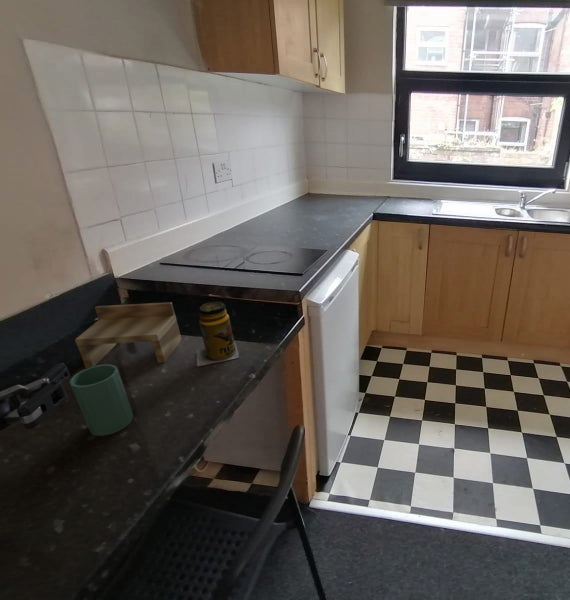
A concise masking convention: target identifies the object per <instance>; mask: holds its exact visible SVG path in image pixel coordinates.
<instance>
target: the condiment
mask: <svg viewBox="0 0 570 600" xmlns="http://www.w3.org/2000/svg"><path fill="white" fill-rule="evenodd" d="M198 313H199V315H198V316H199V320H198V324H199V328H200V332H201V336H202V340H203V345H204V348H199V349H196V350H195V351H196V352H195V354H196V367H197V368H198V367H202V366H206V365H211V364H212V365H213V364H217V363H223V362H227V361H231V360H236V359H238V358H240V355H239V351H238V346H237V343H236V342H235V339H234V334H233V329H232V324H231V319H230V315H229V314H228V313H227V309H226V304H225V303H224V302H221V301H210V302H206V303H203V304H202V305H200V306H199V308H198Z"/></svg>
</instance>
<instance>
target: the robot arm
mask: <svg viewBox="0 0 570 600" xmlns="http://www.w3.org/2000/svg"><path fill="white" fill-rule="evenodd" d="M70 379H71V374H70V371H69V368H68V367H67V365H66V364H65V363H64V362H61V363H56V364H55V365H53V366H52V367H51V368H49V370H47V371H46V372H45V373H44V374H43V375H41V376H40V377H39V379H37V380H34V381H33V382H30V383H28V384H25V385H21V384H16V385H13V386H11V387H8V388H6V389H3V390H1V391H0V432H1V431H3V430H5V429H6V428H8V427H10V426H11V425H12V424H22V425H23V427H24V428H25V430H32V429H33V428H36V427H38V426H39V425H40V424H41V423H42V422H43V421H44V420H45V419H46V418H47V417H49V416H50V415H51V414H52V413H53V412H55V410H56V409H57V408H58V407H60V406H61V405H62V404H63V403H64V402H65V401H66V400H67V399H68V398H69V396H68V393H67V391H66V389H65V387H64V384H65V383H66V382H67V381H68V380H70ZM36 390H38V391H37V392H36V393H35V394H34V395H33V396H32V397H30V395H29V394H30V393H31V392H35V391H36ZM14 396H16V398H17V400H18V402H19V406H18V407H17V408H16V409H14V405H13V403H12V401H11V399H10V398H12V397H14Z"/></svg>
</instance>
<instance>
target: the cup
mask: <svg viewBox="0 0 570 600" xmlns="http://www.w3.org/2000/svg"><path fill="white" fill-rule="evenodd" d="M69 386H70V388H71V391H72V393H73V396H74V398H75V401H76V402H77V405H78V407H79V410H80V412H81V415H82V417H83V419H84V422H85V424H86V426H87V429H88V431H89V433H90V434H91V435H93V436H96V437H105V436H109V435H113V434H115V433H118V432H120V431H122V430H124V429H125V428H127V427H128V426H129V425H130V424H131V422H132V421H133V419H134V412H133V409H132V406H131V402H130V399H129V398H128V395H127V391H126V389H125V386H124V382H123V380H122V377H121V374H120V371H119V368H118V367H117V366H116V365H114V364H110V363H107V364H98V365H95V366H93V367H90V368H85V369H82V370H81V371H79V372H77V373H76V374H75V375H73V376H72V377H70V379H69Z"/></svg>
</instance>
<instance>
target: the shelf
mask: <svg viewBox="0 0 570 600" xmlns="http://www.w3.org/2000/svg"><path fill="white" fill-rule="evenodd" d="M94 309H95V312H96V313H95V314H96V315H97V318H98V319H97V321H95V322H94V323H93V324H92V325H90V326H89V327H88V328H87V329H86V330H84V331H83V332H82V333H81V334H80V335H78V336H77V337H76V338H75V339H74V341H75V345H76V346H77V349H78V351H79V354H80V357H81V359H82V361H83V364H84V367H85V369H87V368H90V367H93V366H97V364H98V363H100V362H101V361H102V359H103V358H105V357H106V355H108V354H109V352H111V350H112V349H114V348H115V347H116V345H117V344H127V343H128V344H129V343H143V342H151V344H152V348H153V351H154V354H155V358H156V362H157V364H165V363H167V361H168V359H169V358H170V357H171V355H172V354H173V352H175V350H176V348H177V347H178V346H179V344H180V343H181V342H182V340H183V339H182V335H181V332H180V328H179V324H178V320H177V316H176V312H175V309H174V305H173V302H172V301H169V302H168V301H167V302H151V303H150V302H149V303H130V304H112V305H97V306H95V307H94ZM169 356H170V357H169Z"/></svg>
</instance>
